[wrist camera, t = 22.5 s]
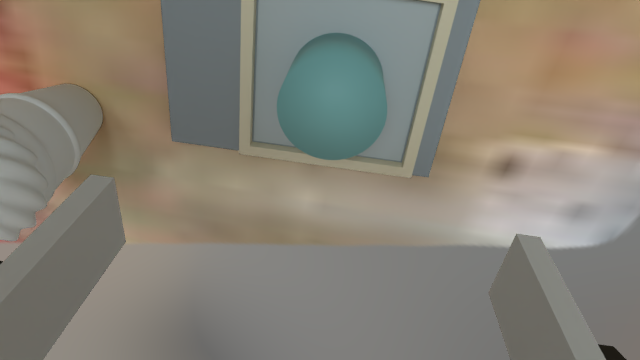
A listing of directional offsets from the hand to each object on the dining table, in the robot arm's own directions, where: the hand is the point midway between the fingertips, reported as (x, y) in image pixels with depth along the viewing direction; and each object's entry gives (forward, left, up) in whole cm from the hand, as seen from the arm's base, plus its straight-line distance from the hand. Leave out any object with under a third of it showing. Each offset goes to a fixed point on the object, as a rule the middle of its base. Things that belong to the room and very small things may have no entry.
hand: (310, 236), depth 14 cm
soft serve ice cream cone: (+6, -20, -19) cm, 28 cm away
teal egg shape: (0, 0, -18) cm, 17 cm away
